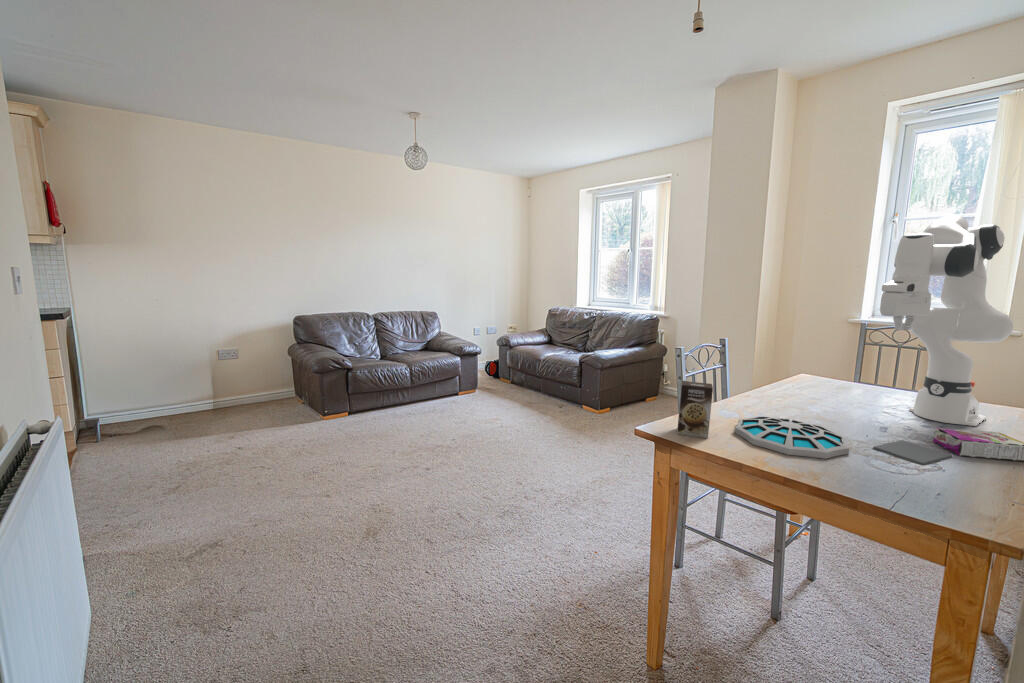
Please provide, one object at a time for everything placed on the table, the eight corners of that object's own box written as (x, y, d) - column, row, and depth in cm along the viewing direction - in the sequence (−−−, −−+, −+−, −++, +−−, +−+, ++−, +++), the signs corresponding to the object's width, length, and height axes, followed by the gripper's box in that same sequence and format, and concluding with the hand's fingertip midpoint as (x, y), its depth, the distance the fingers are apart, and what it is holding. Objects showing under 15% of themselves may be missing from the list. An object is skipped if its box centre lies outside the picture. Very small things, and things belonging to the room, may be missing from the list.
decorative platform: (875, 460, 125) (878, 442, 124) (775, 461, 123) (777, 443, 122) (799, 422, 155) (800, 408, 154) (717, 422, 153) (718, 408, 152)
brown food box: (677, 434, 141) (680, 384, 138) (677, 428, 147) (681, 379, 144) (708, 439, 138) (713, 387, 135) (707, 432, 144) (712, 382, 141)
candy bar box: (934, 426, 137) (999, 431, 134) (932, 442, 138) (996, 447, 135) (962, 439, 126) (1033, 445, 123) (959, 456, 127) (1029, 462, 124)
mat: (902, 441, 138) (902, 439, 137) (952, 457, 127) (952, 455, 127) (872, 448, 132) (873, 446, 132) (922, 465, 121) (923, 463, 121)
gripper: (916, 285, 148) (909, 327, 150) (878, 285, 140) (872, 329, 142) (940, 286, 142) (933, 329, 144) (902, 286, 134) (895, 332, 136)
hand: (902, 329), depth 143 cm, fingers open, 3 cm apart
